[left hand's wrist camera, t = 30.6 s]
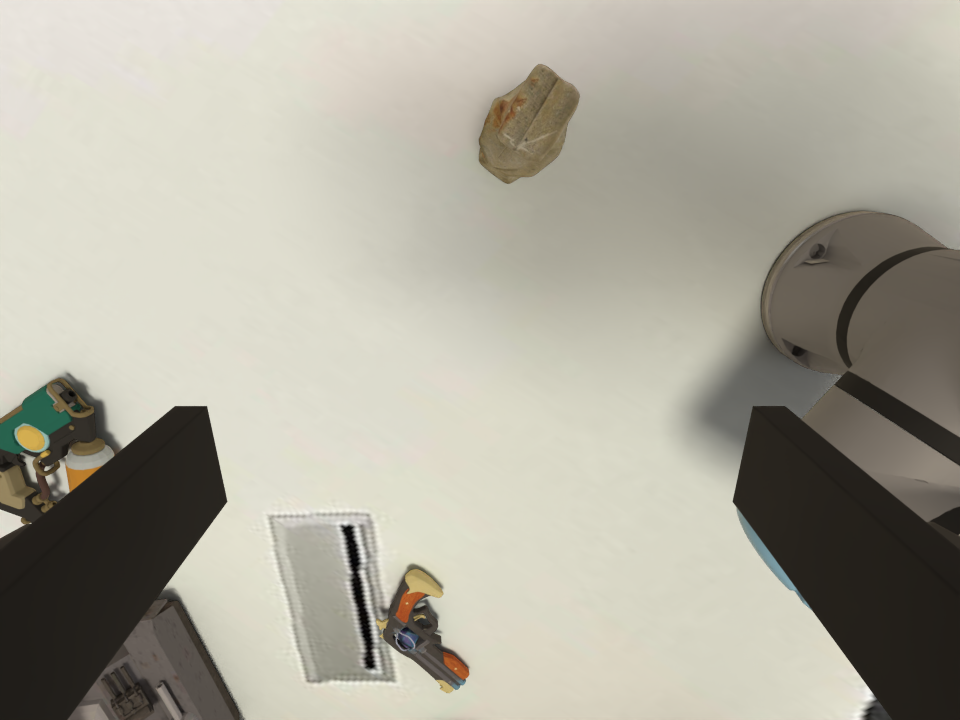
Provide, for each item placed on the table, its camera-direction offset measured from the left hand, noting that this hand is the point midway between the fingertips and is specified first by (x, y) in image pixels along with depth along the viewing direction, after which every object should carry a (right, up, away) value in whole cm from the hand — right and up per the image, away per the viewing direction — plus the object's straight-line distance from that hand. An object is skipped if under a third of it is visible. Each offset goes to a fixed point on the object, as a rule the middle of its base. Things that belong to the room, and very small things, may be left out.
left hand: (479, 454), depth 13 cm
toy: (-45, -39, +56) cm, 81 cm away
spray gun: (-46, -7, +44) cm, 64 cm away
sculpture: (+3, +22, +32) cm, 39 cm away
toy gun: (-6, -31, +53) cm, 62 cm away
